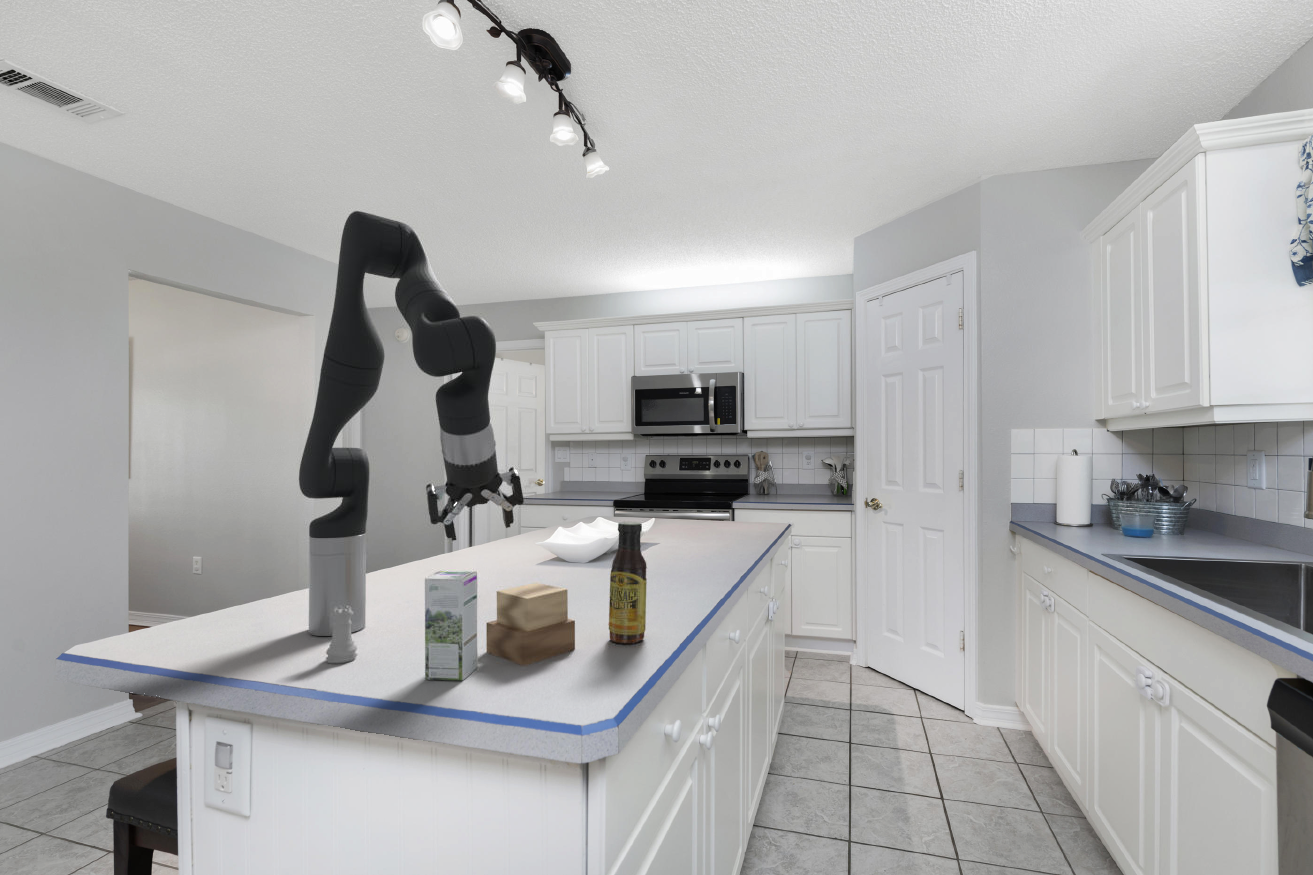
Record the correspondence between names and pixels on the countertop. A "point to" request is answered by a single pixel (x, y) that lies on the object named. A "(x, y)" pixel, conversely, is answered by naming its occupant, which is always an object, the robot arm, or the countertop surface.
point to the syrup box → (450, 625)
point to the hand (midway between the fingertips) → (480, 530)
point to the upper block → (532, 606)
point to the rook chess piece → (341, 637)
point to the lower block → (530, 641)
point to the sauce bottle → (628, 587)
